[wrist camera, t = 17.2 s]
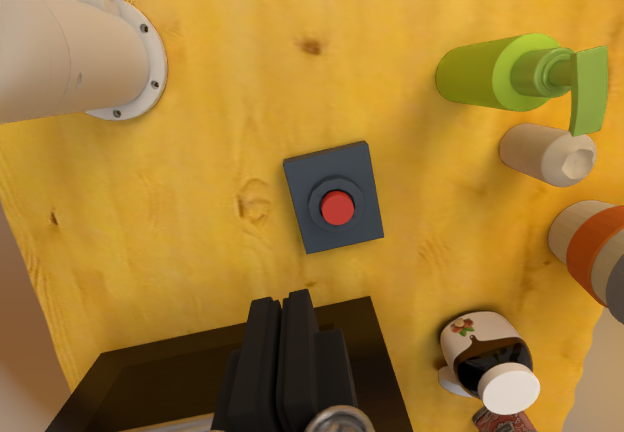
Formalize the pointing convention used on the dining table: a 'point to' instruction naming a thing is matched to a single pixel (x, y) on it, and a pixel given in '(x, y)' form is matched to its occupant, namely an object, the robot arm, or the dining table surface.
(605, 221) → the reusable coffee cup
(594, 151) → the candle
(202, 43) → the dining table surface
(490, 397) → the spread jar
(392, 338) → the dining table surface
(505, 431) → the lighter
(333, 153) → the dark grey flat block
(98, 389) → the oven door
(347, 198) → the timer button
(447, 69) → the soap dispenser
